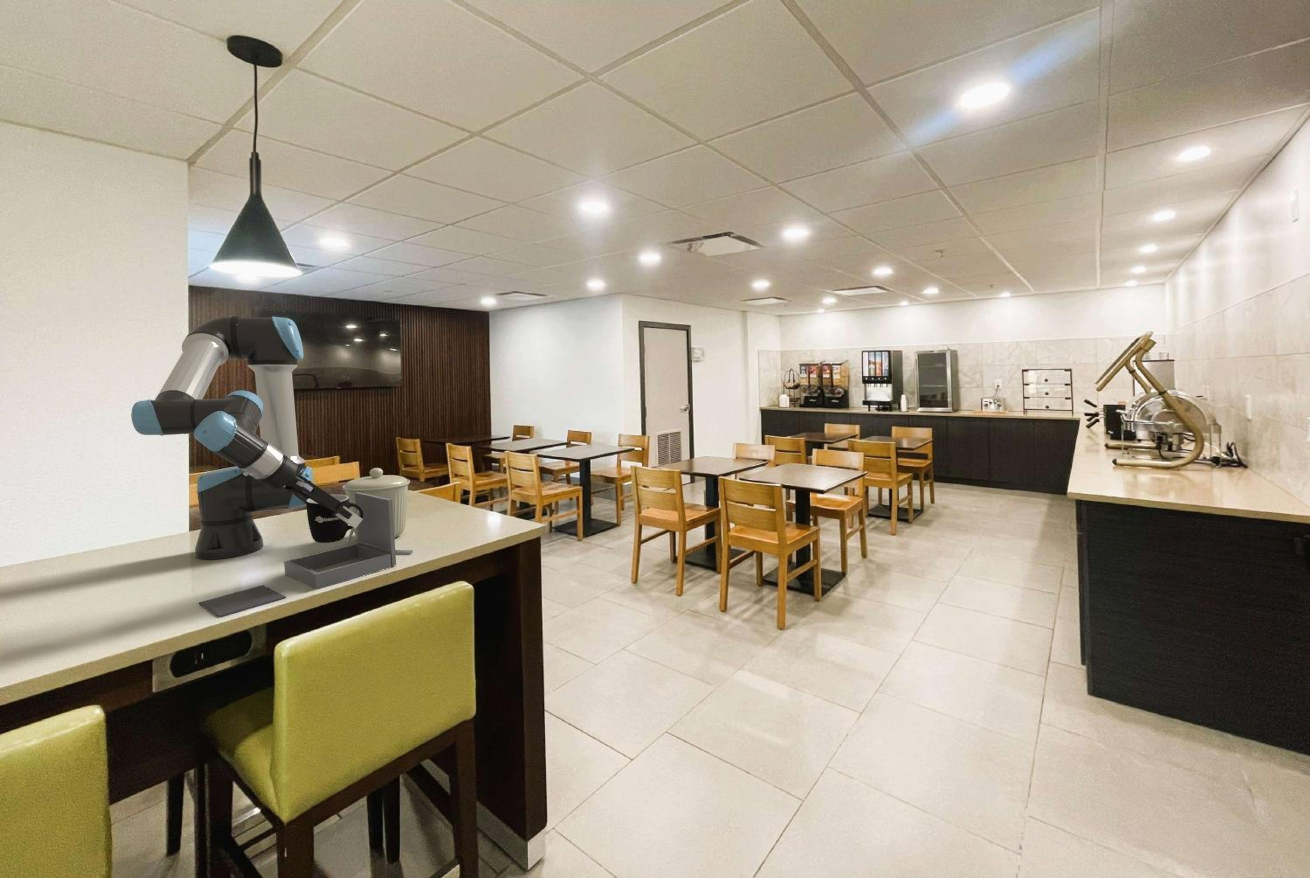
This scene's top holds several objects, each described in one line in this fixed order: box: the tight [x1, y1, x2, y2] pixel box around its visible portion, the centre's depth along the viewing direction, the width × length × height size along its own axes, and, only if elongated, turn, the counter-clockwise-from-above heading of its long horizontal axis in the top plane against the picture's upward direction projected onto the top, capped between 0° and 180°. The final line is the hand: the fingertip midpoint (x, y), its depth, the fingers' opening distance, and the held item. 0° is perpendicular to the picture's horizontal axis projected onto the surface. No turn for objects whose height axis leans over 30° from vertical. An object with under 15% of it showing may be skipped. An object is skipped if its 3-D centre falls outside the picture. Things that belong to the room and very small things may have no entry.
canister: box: [342, 467, 411, 539], centre depth 168 cm, size 18×18×21 cm
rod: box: [395, 549, 414, 555], centre depth 153 cm, size 12×1×1 cm, turn 86°
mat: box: [198, 584, 287, 618], centre depth 121 cm, size 12×12×1 cm
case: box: [283, 492, 397, 590], centre depth 139 cm, size 17×19×17 cm
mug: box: [305, 494, 363, 544], centre depth 137 cm, size 12×9×10 cm
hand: (348, 520), depth 140 cm, fingers closed on mug, 9 cm apart
